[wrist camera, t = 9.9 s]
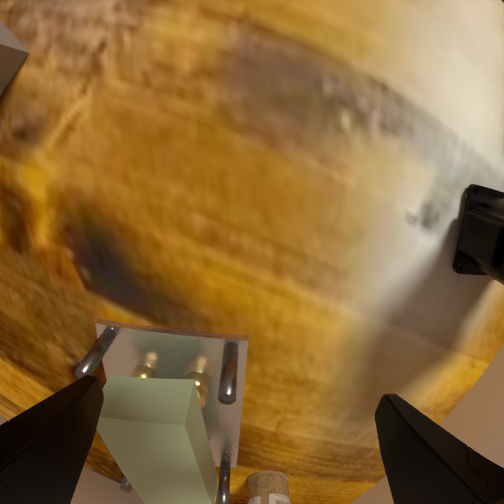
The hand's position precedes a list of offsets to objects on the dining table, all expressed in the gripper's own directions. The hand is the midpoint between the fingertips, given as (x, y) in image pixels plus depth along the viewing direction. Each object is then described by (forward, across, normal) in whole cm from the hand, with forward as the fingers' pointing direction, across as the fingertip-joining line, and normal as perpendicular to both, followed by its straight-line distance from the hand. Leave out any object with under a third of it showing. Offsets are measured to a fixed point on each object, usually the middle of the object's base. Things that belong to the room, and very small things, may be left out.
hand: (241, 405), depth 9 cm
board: (+8, +5, +13) cm, 16 cm away
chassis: (+12, +5, +13) cm, 18 cm away
